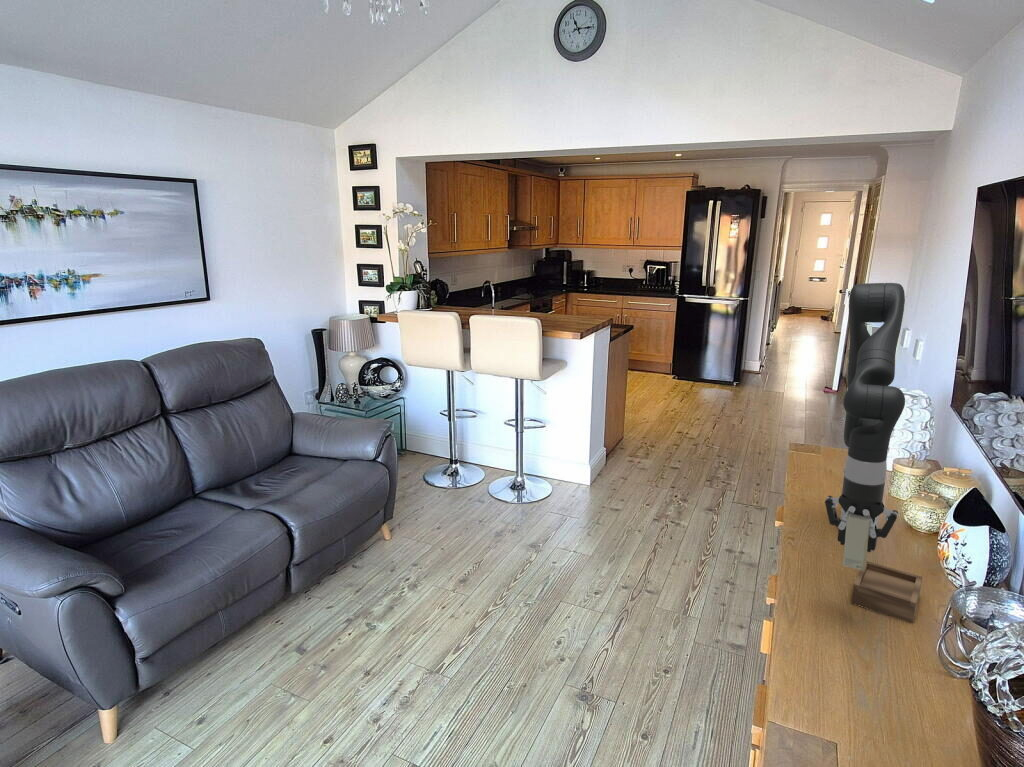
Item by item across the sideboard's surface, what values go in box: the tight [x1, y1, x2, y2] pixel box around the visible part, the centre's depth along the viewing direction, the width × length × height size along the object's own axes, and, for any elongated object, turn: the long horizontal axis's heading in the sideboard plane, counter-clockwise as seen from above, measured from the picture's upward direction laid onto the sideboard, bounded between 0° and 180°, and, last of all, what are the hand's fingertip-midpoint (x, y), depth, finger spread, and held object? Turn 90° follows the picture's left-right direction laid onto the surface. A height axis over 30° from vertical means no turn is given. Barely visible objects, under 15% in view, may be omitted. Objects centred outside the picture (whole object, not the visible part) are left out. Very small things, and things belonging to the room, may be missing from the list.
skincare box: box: [842, 514, 870, 571], centre depth 128 cm, size 6×4×12 cm
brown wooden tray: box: [850, 561, 923, 624], centre depth 137 cm, size 12×12×6 cm
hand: (855, 546), depth 129 cm, fingers closed on skincare box, 4 cm apart
